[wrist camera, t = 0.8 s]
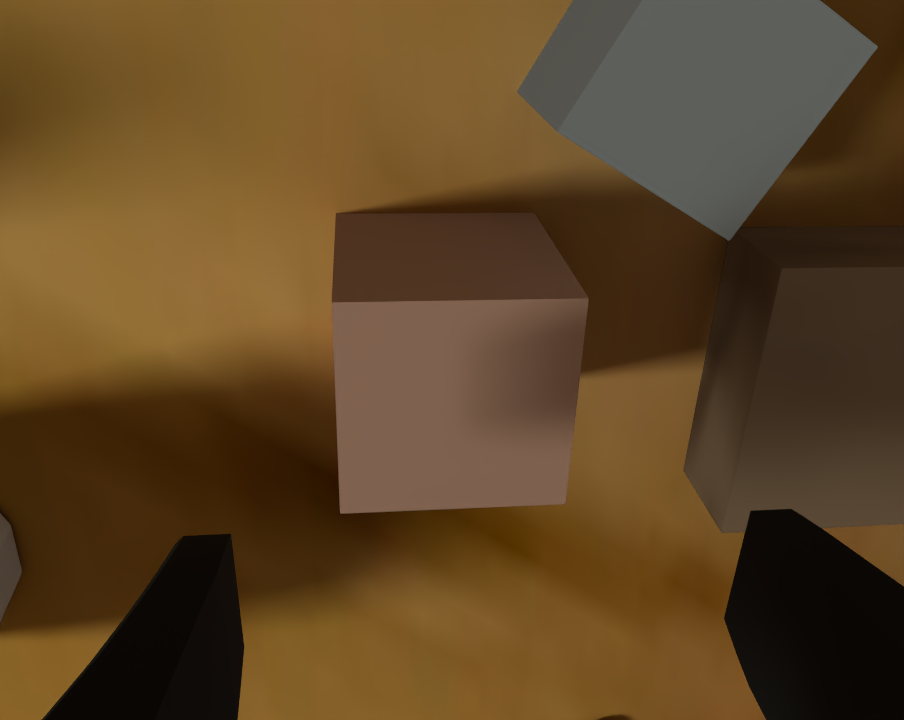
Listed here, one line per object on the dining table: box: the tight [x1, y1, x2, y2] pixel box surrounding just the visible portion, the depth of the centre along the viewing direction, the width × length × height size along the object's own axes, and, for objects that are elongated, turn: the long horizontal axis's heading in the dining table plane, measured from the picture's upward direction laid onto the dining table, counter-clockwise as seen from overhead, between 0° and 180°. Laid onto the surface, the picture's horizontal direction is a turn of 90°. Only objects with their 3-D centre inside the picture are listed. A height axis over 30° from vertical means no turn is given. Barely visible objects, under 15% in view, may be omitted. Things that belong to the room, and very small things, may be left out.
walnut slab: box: [683, 226, 904, 533], centre depth 21 cm, size 7×7×3 cm
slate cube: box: [517, 0, 878, 241], centre depth 16 cm, size 4×4×4 cm
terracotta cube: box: [332, 213, 589, 514], centre depth 18 cm, size 4×4×5 cm
